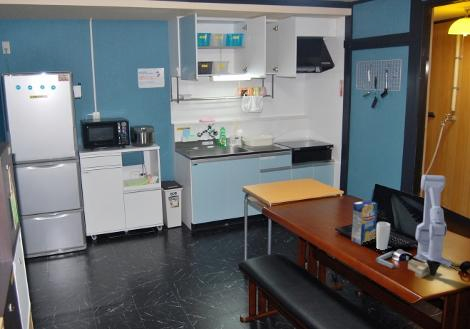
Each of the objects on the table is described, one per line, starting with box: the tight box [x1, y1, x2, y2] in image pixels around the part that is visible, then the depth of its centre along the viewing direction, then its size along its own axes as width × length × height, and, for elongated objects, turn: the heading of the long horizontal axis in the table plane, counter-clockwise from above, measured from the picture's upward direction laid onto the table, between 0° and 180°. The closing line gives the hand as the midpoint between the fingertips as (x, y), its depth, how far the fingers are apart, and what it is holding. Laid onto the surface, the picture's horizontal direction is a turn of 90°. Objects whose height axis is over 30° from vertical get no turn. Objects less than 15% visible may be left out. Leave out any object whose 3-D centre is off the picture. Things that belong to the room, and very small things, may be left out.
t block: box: [407, 259, 430, 279], centre depth 213 cm, size 10×9×4 cm
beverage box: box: [351, 199, 378, 246], centre depth 246 cm, size 7×11×22 cm, turn 120°
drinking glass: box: [375, 221, 391, 250], centre depth 234 cm, size 7×7×15 cm
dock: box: [375, 250, 410, 269], centre depth 224 cm, size 14×9×2 cm, turn 127°
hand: (432, 275), depth 207 cm, fingers closed
